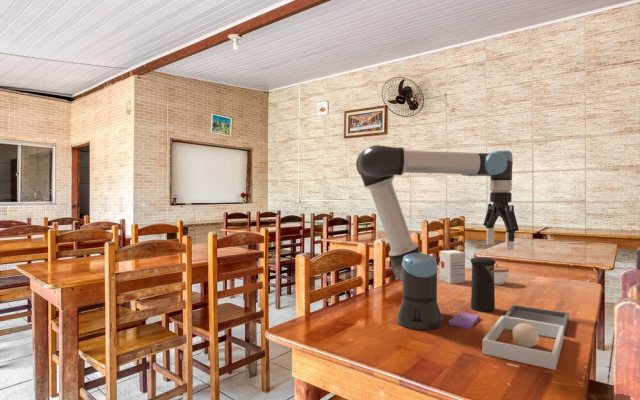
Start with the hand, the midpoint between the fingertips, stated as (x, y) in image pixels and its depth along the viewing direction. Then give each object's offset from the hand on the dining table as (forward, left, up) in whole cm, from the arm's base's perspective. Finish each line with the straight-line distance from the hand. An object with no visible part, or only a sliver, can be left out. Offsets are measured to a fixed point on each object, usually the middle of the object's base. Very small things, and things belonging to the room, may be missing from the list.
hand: (499, 247), depth 154 cm
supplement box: (+17, +43, -24) cm, 52 cm away
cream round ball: (-22, -29, -24) cm, 44 cm away
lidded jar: (+33, +30, -24) cm, 51 cm away
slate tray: (0, -16, -24) cm, 29 cm away
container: (-5, +3, -24) cm, 25 cm away
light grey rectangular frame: (-22, -29, -24) cm, 43 cm away
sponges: (-22, -5, -25) cm, 34 cm away
